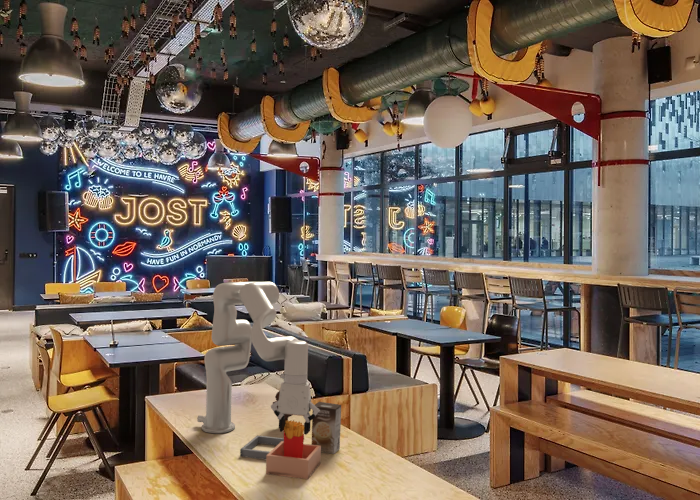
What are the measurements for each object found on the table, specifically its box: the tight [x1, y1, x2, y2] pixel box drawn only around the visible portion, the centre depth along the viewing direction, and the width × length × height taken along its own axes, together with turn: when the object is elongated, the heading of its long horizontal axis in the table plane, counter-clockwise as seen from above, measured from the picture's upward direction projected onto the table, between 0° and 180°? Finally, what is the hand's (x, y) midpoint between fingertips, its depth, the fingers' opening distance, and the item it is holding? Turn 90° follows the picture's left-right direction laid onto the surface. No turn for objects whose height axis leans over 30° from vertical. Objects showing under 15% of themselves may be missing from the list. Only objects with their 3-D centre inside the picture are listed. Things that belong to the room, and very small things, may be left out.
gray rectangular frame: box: [239, 434, 284, 460], centre depth 221 cm, size 12×15×2 cm
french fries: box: [283, 419, 305, 458], centre depth 205 cm, size 9×4×13 cm, turn 41°
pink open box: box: [265, 441, 322, 480], centre depth 206 cm, size 14×14×6 cm
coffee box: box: [311, 401, 342, 455], centre depth 224 cm, size 9×6×16 cm
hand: (294, 431), depth 205 cm, fingers closed on french fries, 7 cm apart
